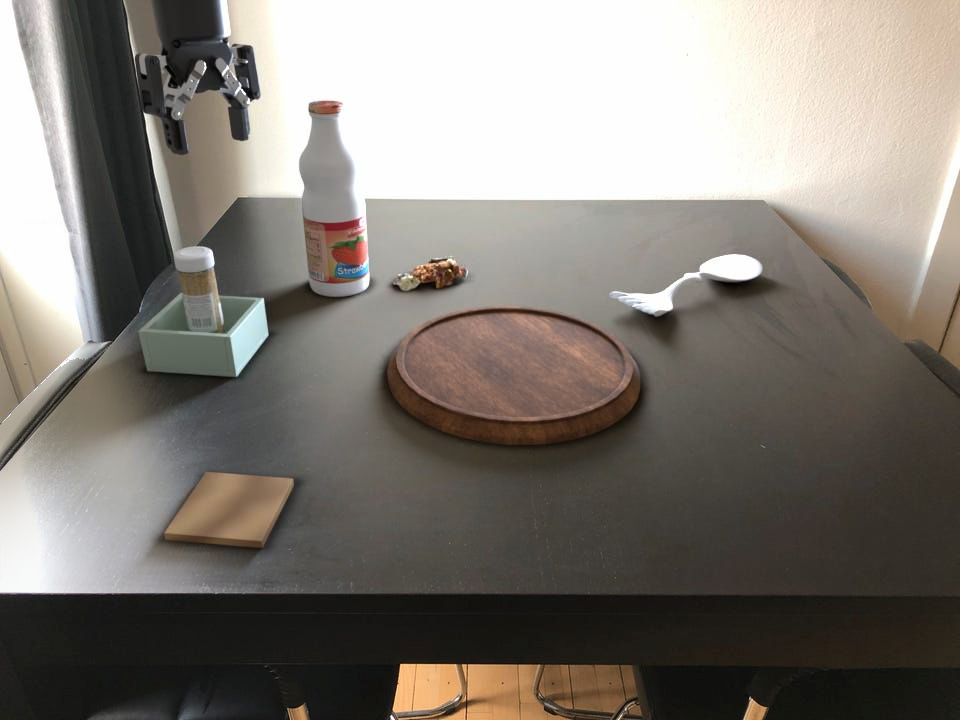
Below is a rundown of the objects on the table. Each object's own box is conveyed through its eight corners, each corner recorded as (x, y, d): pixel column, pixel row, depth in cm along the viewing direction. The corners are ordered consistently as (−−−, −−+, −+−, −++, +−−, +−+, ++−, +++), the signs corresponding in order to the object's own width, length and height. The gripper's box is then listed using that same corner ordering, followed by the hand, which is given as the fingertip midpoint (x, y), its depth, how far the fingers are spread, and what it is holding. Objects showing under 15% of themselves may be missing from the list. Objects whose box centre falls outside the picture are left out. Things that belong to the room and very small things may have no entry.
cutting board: (472, 480, 75) (472, 460, 74) (347, 351, 99) (345, 334, 98) (694, 396, 90) (698, 378, 89) (540, 301, 114) (541, 286, 113)
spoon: (605, 311, 112) (607, 290, 110) (724, 262, 130) (727, 243, 129) (653, 332, 106) (657, 310, 104) (770, 278, 124) (775, 258, 123)
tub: (147, 372, 93) (137, 331, 90) (187, 331, 103) (180, 292, 100) (236, 378, 92) (230, 337, 89) (268, 336, 102) (263, 297, 99)
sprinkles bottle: (234, 341, 99) (219, 246, 92) (217, 358, 95) (200, 259, 88) (202, 338, 100) (185, 243, 93) (184, 354, 96) (165, 256, 89)
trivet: (165, 541, 67) (163, 533, 66) (207, 479, 75) (205, 471, 74) (262, 549, 66) (261, 541, 66) (294, 486, 74) (293, 478, 74)
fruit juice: (329, 271, 123) (314, 95, 110) (380, 280, 120) (371, 100, 107) (298, 292, 115) (277, 105, 102) (351, 302, 112) (337, 111, 99)
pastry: (387, 283, 119) (386, 262, 118) (448, 266, 126) (448, 246, 124) (411, 297, 115) (411, 276, 113) (473, 280, 121) (473, 259, 119)
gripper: (218, -14, 84) (237, 131, 92) (103, -11, 74) (136, 153, 82) (264, -11, 81) (280, 140, 89) (150, -8, 70) (180, 164, 78)
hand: (211, 146), depth 85 cm, fingers open, 8 cm apart
